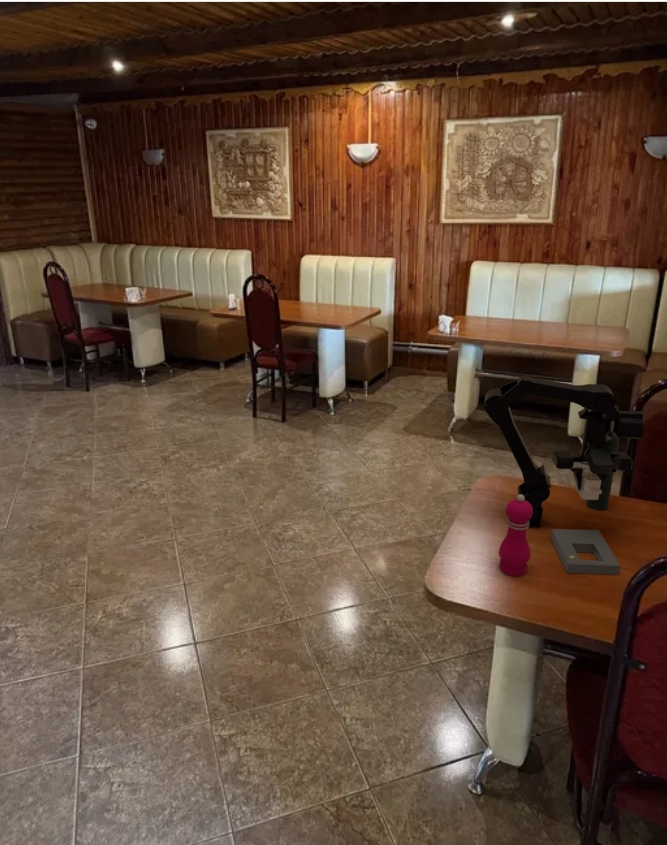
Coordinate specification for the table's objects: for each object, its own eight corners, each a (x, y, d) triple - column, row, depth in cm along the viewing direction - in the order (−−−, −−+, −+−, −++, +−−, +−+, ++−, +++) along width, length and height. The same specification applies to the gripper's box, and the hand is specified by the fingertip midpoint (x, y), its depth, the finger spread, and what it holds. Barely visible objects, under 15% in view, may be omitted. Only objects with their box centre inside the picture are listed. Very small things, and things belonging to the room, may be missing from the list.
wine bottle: (590, 510, 177) (606, 410, 166) (583, 500, 183) (598, 403, 172) (611, 510, 177) (628, 410, 166) (603, 500, 183) (619, 403, 172)
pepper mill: (491, 564, 153) (498, 491, 146) (515, 557, 156) (523, 485, 149) (510, 580, 147) (518, 504, 140) (534, 573, 150) (544, 498, 142)
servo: (583, 502, 161) (587, 480, 159) (573, 485, 170) (576, 464, 168) (600, 502, 161) (603, 480, 159) (588, 486, 170) (592, 464, 167)
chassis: (567, 572, 150) (568, 563, 149) (550, 537, 165) (551, 528, 164) (618, 574, 149) (620, 565, 148) (597, 538, 164) (598, 529, 163)
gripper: (566, 446, 152) (558, 503, 158) (646, 448, 151) (635, 505, 157) (554, 429, 163) (548, 483, 168) (629, 430, 161) (619, 485, 167)
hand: (587, 489), depth 165 cm, fingers closed on servo, 4 cm apart
